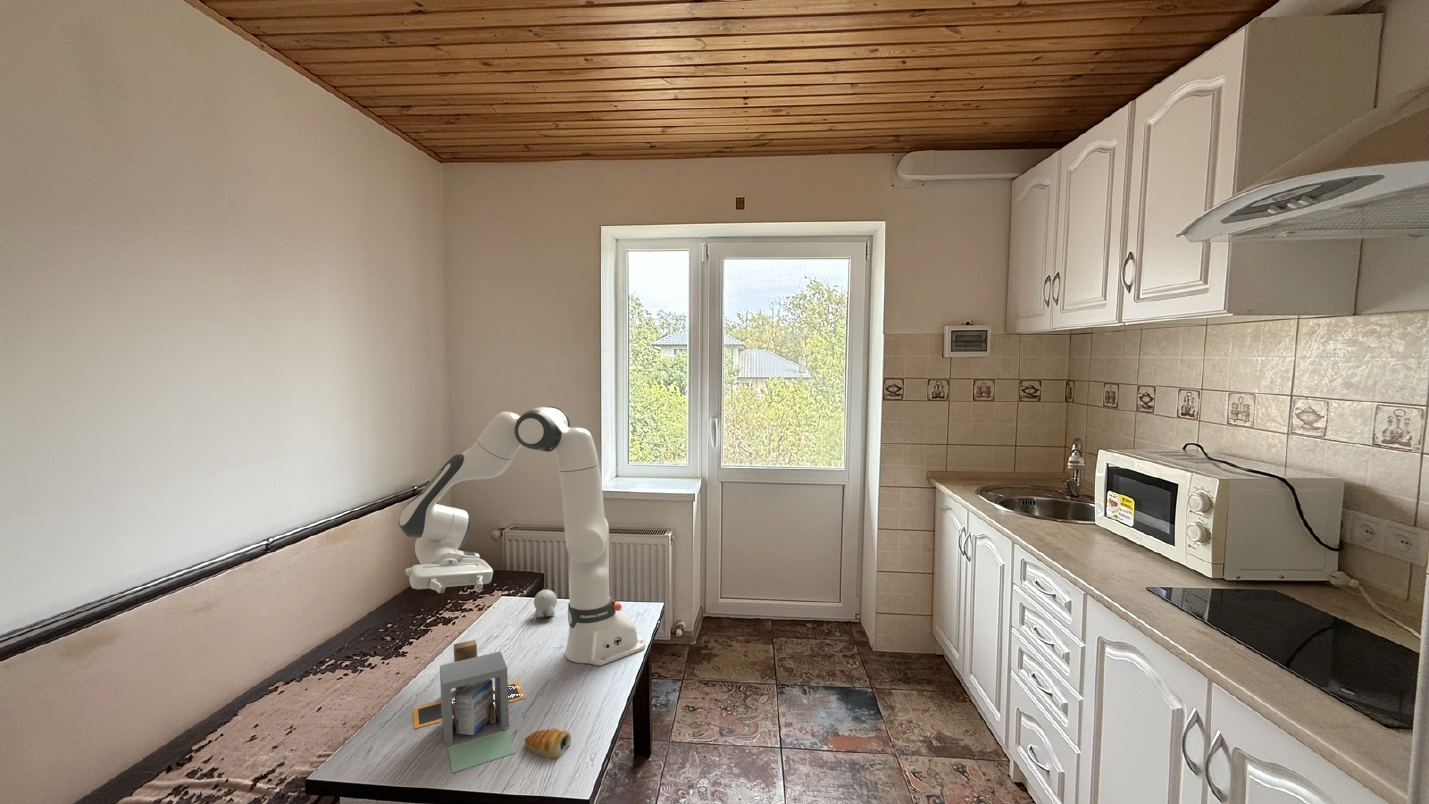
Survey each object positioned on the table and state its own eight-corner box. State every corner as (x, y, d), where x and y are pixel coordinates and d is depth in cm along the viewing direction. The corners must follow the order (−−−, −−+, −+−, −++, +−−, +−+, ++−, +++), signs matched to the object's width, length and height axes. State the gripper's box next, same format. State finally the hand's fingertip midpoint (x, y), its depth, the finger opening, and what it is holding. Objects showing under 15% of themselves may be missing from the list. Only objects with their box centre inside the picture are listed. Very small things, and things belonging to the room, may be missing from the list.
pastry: (517, 754, 120) (517, 736, 120) (535, 735, 126) (535, 718, 126) (558, 762, 117) (557, 743, 117) (574, 741, 124) (574, 724, 124)
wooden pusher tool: (482, 680, 148) (481, 638, 147) (495, 721, 130) (493, 674, 129) (448, 688, 144) (446, 645, 143) (456, 733, 126) (455, 684, 125)
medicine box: (473, 736, 125) (472, 697, 125) (455, 734, 126) (453, 695, 126) (494, 715, 133) (493, 678, 132) (477, 713, 134) (475, 676, 133)
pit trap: (518, 681, 148) (518, 680, 148) (525, 698, 140) (525, 697, 140) (413, 708, 136) (413, 708, 136) (414, 729, 128) (414, 728, 128)
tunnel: (502, 706, 137) (500, 651, 136) (509, 726, 129) (507, 668, 128) (441, 723, 130) (439, 665, 130) (445, 745, 122) (442, 684, 122)
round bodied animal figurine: (558, 616, 194) (559, 589, 197) (555, 616, 183) (556, 588, 186) (536, 617, 193) (537, 590, 196) (531, 618, 182) (533, 589, 184)
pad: (507, 730, 128) (507, 729, 128) (515, 753, 120) (515, 752, 120) (448, 747, 122) (448, 747, 122) (452, 773, 114) (452, 772, 114)
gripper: (405, 556, 149) (420, 579, 139) (483, 553, 163) (502, 574, 153) (400, 579, 150) (415, 604, 140) (478, 574, 164) (497, 596, 153)
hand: (461, 588), depth 146 cm, fingers open, 8 cm apart
